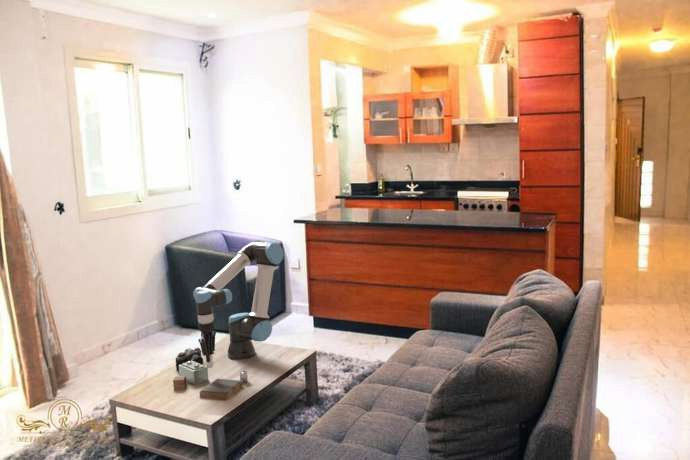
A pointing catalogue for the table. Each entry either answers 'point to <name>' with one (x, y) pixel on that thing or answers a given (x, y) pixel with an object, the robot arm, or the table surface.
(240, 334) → the robot arm
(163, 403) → the table surface
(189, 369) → the housing
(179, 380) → the walnut block
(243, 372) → the steel cup
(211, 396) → the grey brown flat block
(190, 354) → the camera
